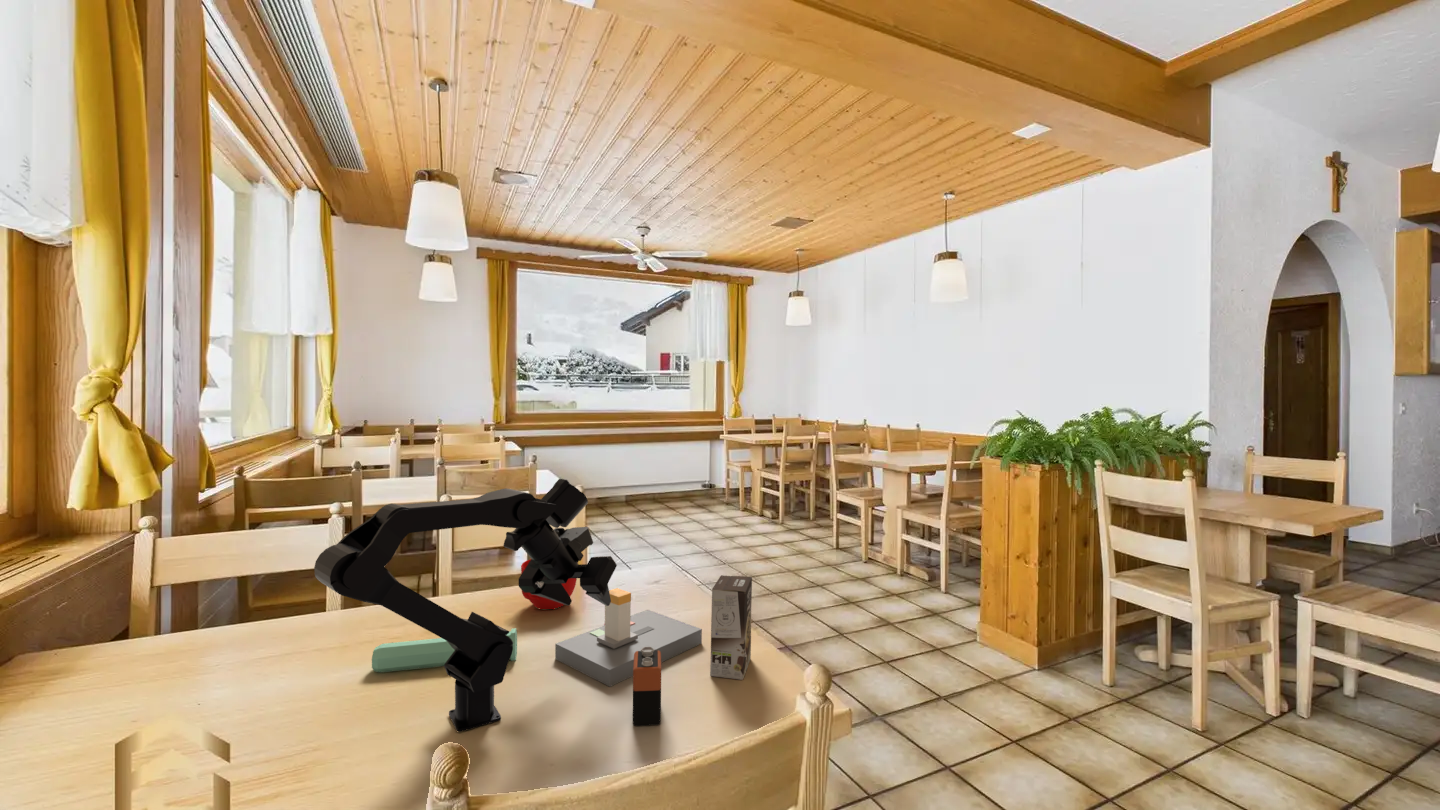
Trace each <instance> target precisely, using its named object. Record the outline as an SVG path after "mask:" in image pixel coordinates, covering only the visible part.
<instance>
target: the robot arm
mask: <svg viewBox="0 0 1440 810" xmlns="http://www.w3.org/2000/svg"><path fill="white" fill-rule="evenodd" d="M588 503H589V501H588V497H587V496H586V494H585V493H584V492H582V491H581V490H580V489H578V487H576V486H574V485H573V484H572V483H570V482H569V480H568V479H565V478H559V479H558V480H557V481H556V482H555V483H553V486H552V488H550V489H549V491H547V492H546V493H545V494H544V496H543V497H541V498H537V497H534V495H533V494H532V493H529V492H526V491H520V490H516V489H512V488H501V489H498V490H494V491H490V492H486V493H484V494H481V495H480V496H478V497H474V498H469V499H455V500H443V501H441V500H440V501H430V502H428V501H427V502H418V503H417V502H415V503H405V504H397V503H389V504H385V505H384V506H382V507H381V508H379V509H378V510H377V511H376V512H375V513H374V514H373V515H372V516H371V517H370V518H369V519H367V520H366V521H364V522H363V523H361V524H360V525H358V526H356V527H355V528H354V529H352V530H351V531H349V532H348V533H347V534H346V535H345V536H344V537H343V538H341V540H339V541H338V542H337V543H336V544H333V545H331V546H329V547H327V548H326V549H324V550H323V551H321V553H320V554H319V555H318V557H317V558H316V560H315V563H314V567H313V570H314V577H315V578H316V580H318V581H319V582H320V583H321V584H323V585H325V586H326V587H327V588H329V589H331V590H332V591H334V592H335V593H336V594H338V595H341V596H343V597H346V598H350V599H352V600H356V601H361V602H363V603H367V604H372V605H373V604H374V605H378V606H382V607H384V608H386V609H387V610H389V611H391V612H393V613H394V614H396V615H398V616H400V617H401V618H403V619H406V620H408V621H410V622H411V623H413V624H415V625H417V626H418V627H420V628H423V629H424V630H426V631H428V632H429V633H431V634H434V635H435V636H438V638H443V639H445V640H446V641H447V642H448V643H449V644H450V645H451V647H452V648H453V649H454V650H455V651H454V652H453V654H452V655H451V656H450V657H449V659H448V660H447V661H446V663H445V664H444V666H443V667H444V669H445V673H446V674H447V676H449V677H451V678H453V679H454V709H451V710H449V711H448V716H449V719H450V720H451V722H452V724H453V726H455V727H454V729H455V731H456V730H457V731H458V732H457V731H456V732H457V733H461V732H464V731H469V730H472V729H475V728H478V727H482V726H486V725H488V724H493V723H496V722H498V721H501V719H502V715H501V714H500V712H499V711H498V709H497V707H496V705H495V686H496V685H499V684H501V683H502V682H503V680H504V677H505V674H506V671H507V667H508V664H509V662H510V660H511V659H510V657H511V655H512V651H513V641H512V639H511V638H510V637H508V636H507V634H508V633H509V631H510V630H508V629H506V628H503V627H502V626H500V625H497V624H495V622H493V621H492V620H490V619H488V618H486V617H485V616H482V615H480V614H478V613H476V612H475V611H470V615H469V616H468V618H462V617H459V616H458V615H456V614H455V613H453V612H451V611H449V610H447V609H446V608H444V607H442V606H441V605H439V604H437V603H436V602H434V601H433V600H430V599H429V598H426V596H423V595H421V594H420V593H418V592H417V591H415V590H413V589H411V588H409V587H408V586H406V585H404V584H403V583H402V582H400V581H399V580H397V579H396V578H395V577H394V575H393V574H392V573H391V572H390V571H389V570H388V569H387V568H386V565H388V563H389V562H390V561H391V560H392V558H394V555H395V553H396V552H397V550H398V548H399V546H400V545H401V543H402V542H403V540H404V539H405V538H406V537H407V536H408V535H409V534H412V533H421V532H431V531H438V530H446V529H456V528H465V527H472V526H473V527H474V526H492V527H499V528H507V529H514V530H512V531H506V533H505V539H504V541H503V547H504V548H506V549H509V550H511V551H514V552H518V550H520V549H521V548H522V549H523V550H524V552H525V553H526V554H527V555H528V556H529V558H530V559H532V560H530V559H529V560H530V562H529V563H528V565H527V566H526V568H525V569H524V571H523V573H522V574H521V573H520V576H519V577H518V581H517V582H518V588H520V590H521V592H522V591H523V592H524V593H530V594H532V595H537V596H540V597H544V598H547V599H550V600H553V601H556V602H559V603H562V604H564V605H565V606H571V604H572V601H573V599H572V598H571V596H569V594H568V593H567V591H566V590H565V588H564V587H563V586H562V584H561V583H566V582H567V581H568V579H570V578H577V579H579V586H580V588H581V589H582V590H583V591H585V595H587V596H588V597H590V598H592V599H594V600H596V601H597V602H599V603H600V604H602V605H604V606H605V605H606V606H609V605H610V603H611V598H610V593H609V590H610V588H609V582H610V580H611V578H612V576H613V574H614V572H615V570H616V569H617V566H618V564H617V563H616V561H615V560H614V559H613V557H612V556H611V555H606V556H604V555H602V556H593V557H592V556H591V557H590V558H589V561H587V562H588V563H586V564H583V563H582V564H579V562H581V561H582V560H583V557H584V554H583V553H582V552H583V551H585V550H586V549H587V548H588V547H590V546H592V545H593V544H594V540H593V538H592V535H591V532H590V529H589V527H588V526H578V527H571V528H567V527H568V526H569V524H571V522H572V521H574V519H576V517H577V516H578V515H579V513H581V511H582V510H583V509H584V508H585V507H586V506H587V505H588ZM564 528H565V529H564Z"/></svg>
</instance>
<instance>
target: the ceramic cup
mask: <svg viewBox="0 0 1440 810" xmlns="http://www.w3.org/2000/svg"><path fill="white" fill-rule="evenodd" d="M530 560H532V559H531V558H530V559H528V560H526V561H524V562H522V563H521V565H520V572H521V573H520V575H521V574H522V573H523V571H524V569H525V568H526V566H527V565H528V563H529V562H530ZM577 580H578V578H570V579H568V581H567V582H566V583H561V584H562V586H563V587H564V588H565V590H566V591H567V593H568V594H569V596H570V597H571V596H572V595H573V593H574V592H575V591H574V590H575V588H576V585H577ZM521 595H522V596H523V597H524V598H525V600H526V599H527V600H529V602H530V603H531V604H532V605H533V606H534V607H535V608H536V607H537V608H540V609H553V610H555V609H554V608H558V607H560V608H562V607H563V606H564V605H565V604H562V603H559V602H556V601H553V600H550V599H547V598H544V597H540V596H537V595H532V594H530V593H524V592H523V591H522V590H521ZM561 606H562V607H561ZM537 608H536V609H537ZM540 609H539V610H540ZM558 609H559V608H558Z"/></svg>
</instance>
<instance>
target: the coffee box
mask: <svg viewBox="0 0 1440 810" xmlns="http://www.w3.org/2000/svg"><path fill="white" fill-rule="evenodd" d="M752 584H753V577H752V576H745V575H744V576H743V575H724V574H723V575H720V576H719V577H718V579H717V581H716V583H715V584H714V586H713V587H712V588H711V613H710V615H711V618H710V619H711V620H710V621H711V623H710V627H711V628H710V665H709V666H710V668H709V669H710V670H709V671H710V672H709V673H710V674H709V675H710V676H711V677H717V678H725V679H733V680H740V681H741V680H744V678H745V675H746V672H747V670H748V667H749V664H750V661H751V659H752V656H751V655H752V653H751V651H752V601H753V600H752V598H753V596H752V595H753V594H752V593H753V592H752V591H753V589H752V588H753V585H752Z"/></svg>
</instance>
